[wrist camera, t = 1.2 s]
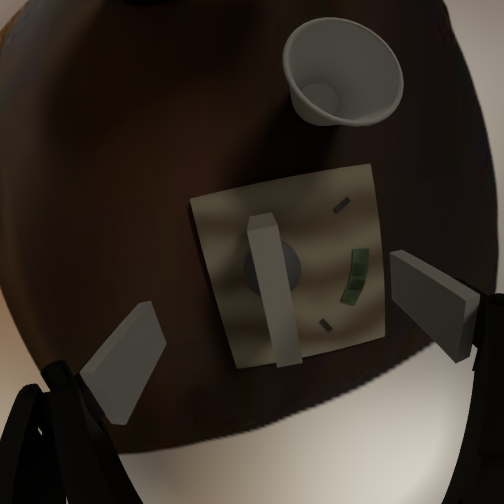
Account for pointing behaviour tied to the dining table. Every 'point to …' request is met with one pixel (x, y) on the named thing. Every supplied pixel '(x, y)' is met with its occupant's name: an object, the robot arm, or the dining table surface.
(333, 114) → the cup
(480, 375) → the robot arm
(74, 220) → the dining table surface
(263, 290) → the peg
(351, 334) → the board
